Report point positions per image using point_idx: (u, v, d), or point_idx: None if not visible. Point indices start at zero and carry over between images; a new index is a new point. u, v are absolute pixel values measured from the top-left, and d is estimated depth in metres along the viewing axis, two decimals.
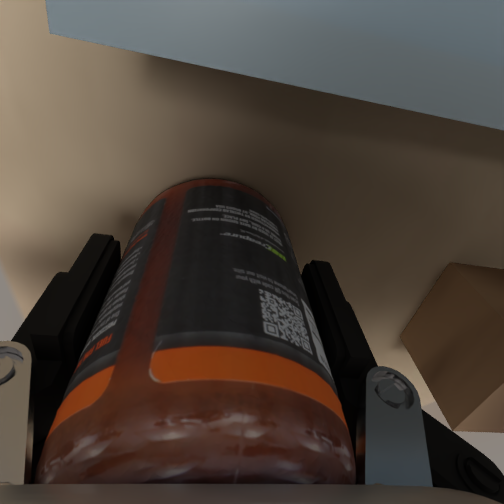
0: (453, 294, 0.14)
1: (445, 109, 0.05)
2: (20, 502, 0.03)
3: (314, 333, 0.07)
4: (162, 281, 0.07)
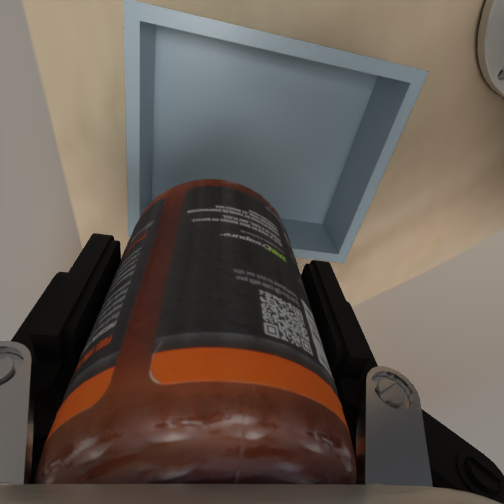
0: None
1: None
2: (20, 502, 0.03)
3: (314, 334, 0.07)
4: (161, 282, 0.07)
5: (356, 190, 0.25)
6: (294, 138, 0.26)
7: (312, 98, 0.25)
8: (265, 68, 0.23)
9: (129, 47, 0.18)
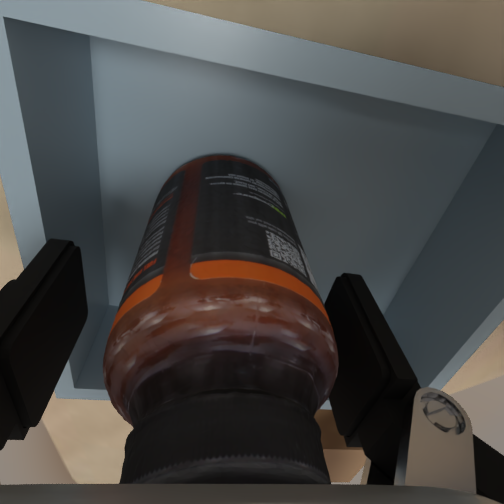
0: None
1: None
2: (20, 502, 0.03)
3: (308, 267, 0.09)
4: (190, 224, 0.09)
5: (453, 312, 0.15)
6: (342, 217, 0.16)
7: (379, 155, 0.14)
8: (300, 106, 0.13)
9: None
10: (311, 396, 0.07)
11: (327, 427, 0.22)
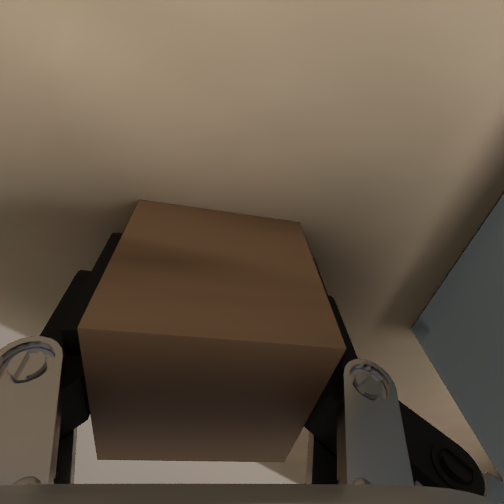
0: (277, 239, 0.09)
1: None
2: (20, 502, 0.03)
3: None
4: None
5: None
6: None
7: None
8: None
9: None
10: None
11: None
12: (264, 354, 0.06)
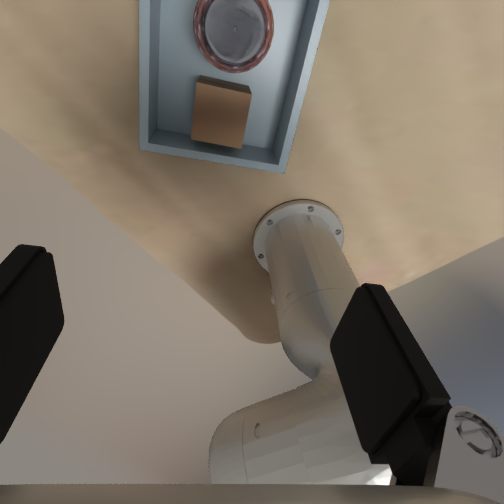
0: (240, 85, 0.32)
1: None
2: (20, 502, 0.03)
3: None
4: None
5: (203, 148, 0.33)
6: None
7: (258, 104, 0.35)
8: (279, 65, 0.33)
9: None
10: None
11: None
12: (234, 95, 0.29)
